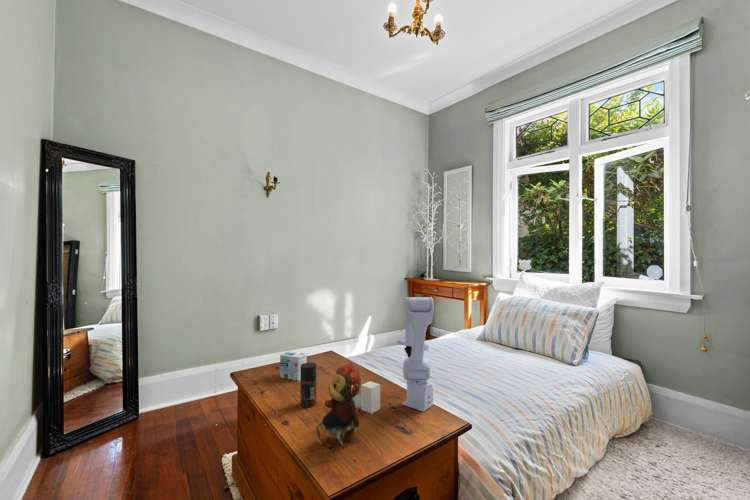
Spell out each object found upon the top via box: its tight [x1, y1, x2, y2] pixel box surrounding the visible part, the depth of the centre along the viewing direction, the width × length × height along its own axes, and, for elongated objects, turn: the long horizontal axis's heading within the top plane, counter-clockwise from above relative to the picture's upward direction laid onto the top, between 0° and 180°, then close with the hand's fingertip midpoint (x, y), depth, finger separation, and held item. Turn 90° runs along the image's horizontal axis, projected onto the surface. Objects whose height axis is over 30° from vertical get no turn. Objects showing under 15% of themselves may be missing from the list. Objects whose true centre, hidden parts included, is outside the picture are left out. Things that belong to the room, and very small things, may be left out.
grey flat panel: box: [353, 394, 361, 410], centre depth 133 cm, size 13×11×1 cm
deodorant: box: [300, 362, 318, 409], centre depth 131 cm, size 6×6×15 cm
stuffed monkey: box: [315, 361, 362, 446], centre depth 105 cm, size 15×17×25 cm
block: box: [360, 380, 381, 414], centre depth 126 cm, size 5×5×9 cm
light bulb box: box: [279, 350, 308, 382], centre depth 159 cm, size 11×7×11 cm, turn 68°
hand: (412, 364), depth 145 cm, fingers closed
